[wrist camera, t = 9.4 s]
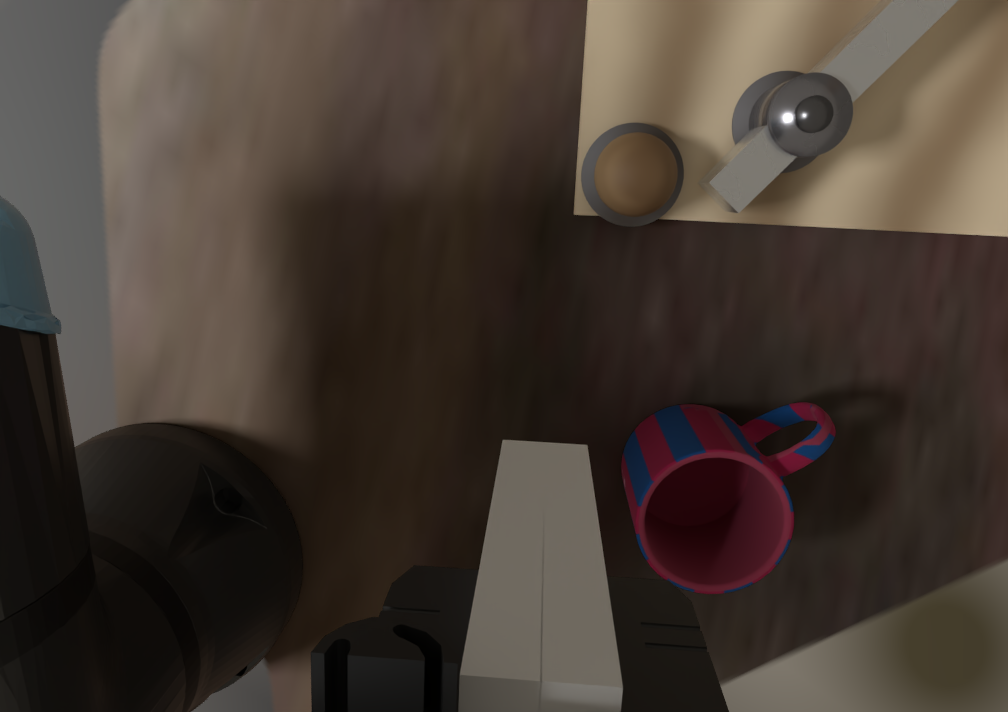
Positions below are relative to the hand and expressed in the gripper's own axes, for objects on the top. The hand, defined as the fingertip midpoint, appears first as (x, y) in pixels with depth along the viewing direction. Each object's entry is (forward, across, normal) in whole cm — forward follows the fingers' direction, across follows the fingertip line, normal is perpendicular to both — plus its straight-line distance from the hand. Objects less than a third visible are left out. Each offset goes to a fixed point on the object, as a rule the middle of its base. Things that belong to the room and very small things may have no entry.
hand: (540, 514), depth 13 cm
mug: (+25, +9, -7) cm, 27 cm away
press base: (+24, +11, +12) cm, 30 cm away
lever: (+23, +12, +12) cm, 28 cm away
